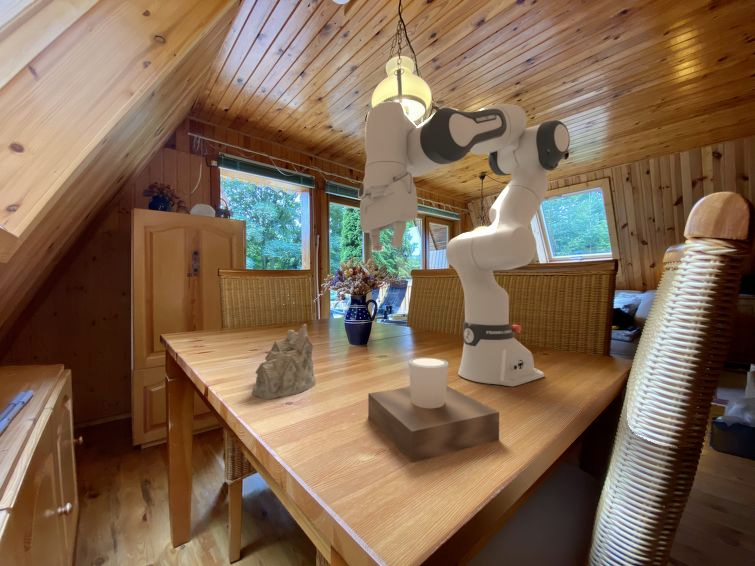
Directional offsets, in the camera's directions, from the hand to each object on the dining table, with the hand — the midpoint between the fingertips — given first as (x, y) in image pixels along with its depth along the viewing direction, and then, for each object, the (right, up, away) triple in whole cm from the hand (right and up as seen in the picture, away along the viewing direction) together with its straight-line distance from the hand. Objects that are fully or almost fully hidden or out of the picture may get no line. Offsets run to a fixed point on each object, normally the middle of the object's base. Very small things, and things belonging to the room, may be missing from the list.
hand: (386, 249), depth 66 cm
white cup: (+7, -28, -12) cm, 31 cm away
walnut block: (+7, -33, -12) cm, 35 cm away
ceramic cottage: (-25, -32, +10) cm, 42 cm away
